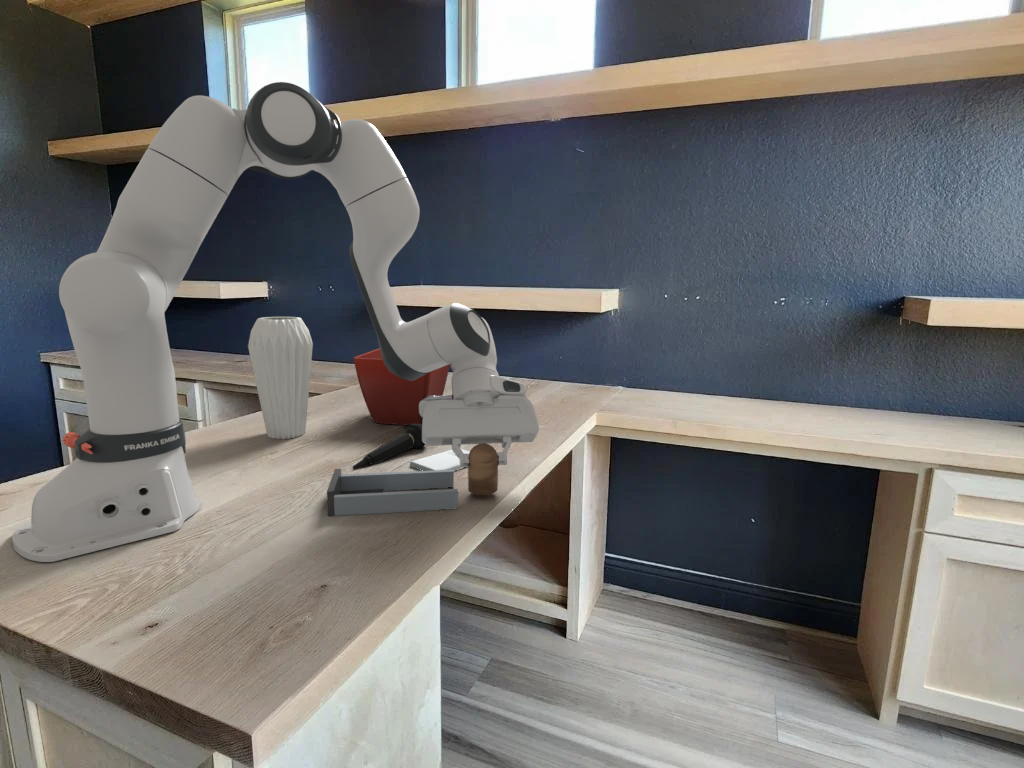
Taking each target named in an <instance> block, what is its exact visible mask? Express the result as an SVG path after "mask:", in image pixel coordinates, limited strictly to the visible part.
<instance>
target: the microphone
mask: <svg viewBox="0 0 1024 768" xmlns="http://www.w3.org/2000/svg"><path fill="white" fill-rule="evenodd" d="M425 446H426V445H425V444H424V443H423V442H422V425H421V424H414V423H412V424H410V425H406V427H405V429H404V433H402V434H400V435H399V436H397V437H395V438H392V439H391V440H389V441H388V442H387V443H384V444H383V445H381V446H379V447H377V448H375V449H374V450H373V451H371V452H369V453H368V454H366V455H365V456H364V457H363V458H362V460H360V461H358V462H357V463H355V464H354V465H353V466H352V469H353V470H356V469H357V470H358V469H359V468H363V467H365V466H370V465H374V464H378V463H379V461H380V462H382V461H385V460H387V459H389V458H391V457H393V456H395V455H398V454H400V453H402V452H405V451H406V450H409V449H411V448H414V449H419V448H420V449H422V448H423V447H425Z"/></svg>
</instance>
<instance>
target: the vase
mask: <svg viewBox="0 0 1024 768" xmlns="http://www.w3.org/2000/svg"><path fill="white" fill-rule="evenodd" d="M313 347H314V343H313V340H312V336H311V333H310V330H309V328H308V326H306V324H305V322H304V320H303V319H302V317H298V316H297V317H296V316H265V317H259V318H258V317H257V319H256V321H255V322H254V324H253V326H252V328H251V330H250V334H249V339H248V344H247V349H248V353H249V358H250V362H251V367H252V372H253V377H254V381H255V385H256V389H257V393H258V394H257V395H258V400H259V403H260V409H261V414H262V418H263V422H264V426H265V430H266V435H267V437H268V438H271V439H276V440H279V439H282V440H285V439H289V440H290V439H291V438H293V439H295V438H296V437H297V438H298V437H300V436H304V434H306V431H307V430H306V429H307V420H308V419H307V417H308V405H309V394H310V384H311V383H310V382H311V381H310V380H311V373H312V372H311V371H312V359H313V358H312V357H313Z"/></svg>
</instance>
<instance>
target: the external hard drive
mask: <svg viewBox="0 0 1024 768" xmlns="http://www.w3.org/2000/svg"><path fill="white" fill-rule="evenodd" d="M460 449H461V450H462V452H463V453H464V454H467V453H468V454H469V453H470V451H471V450H466V449H463V448H460ZM410 465H411V466H413V467H412V468H414V467H416V468H418V469H417V470H419V469H421V470H423V471H431V470H457V469H460V468H462V467H460V463H459V458H458V457H457V456H456V455H455V453H454V452H453V451H452V449H448V450H446V451H443V452H439V453H436V454H433V455H429V456H426V457H421V458H418V459H415V460H411V461H410V462H409V466H410ZM411 466H410V467H411ZM416 468H415V469H416ZM462 469H463V468H462ZM421 470H420V471H421ZM460 470H461V469H460ZM457 471H458V470H457Z"/></svg>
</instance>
